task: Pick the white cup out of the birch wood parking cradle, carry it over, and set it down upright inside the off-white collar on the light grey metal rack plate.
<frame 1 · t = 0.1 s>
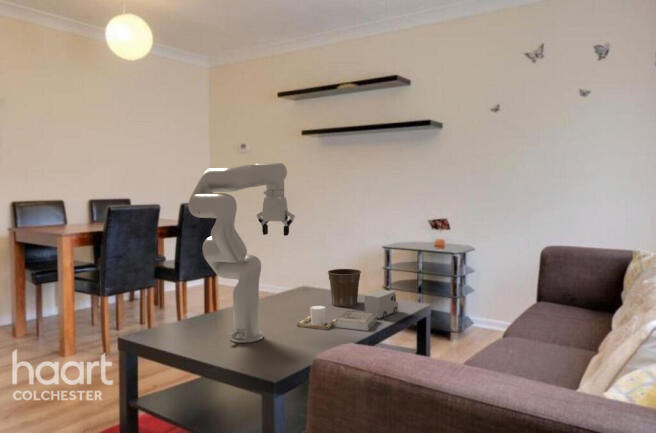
hand: (275, 234, 202), 37 cm above the table, tool pointing down, fingers open, 9 cm apart
parking cradle: (318, 323, 201), on the table
toy vehicle: (381, 315, 215), on the table
rack plate: (356, 324, 200), on the table
white cup: (318, 324, 201), on the table
plant pot: (344, 304, 233), on the table
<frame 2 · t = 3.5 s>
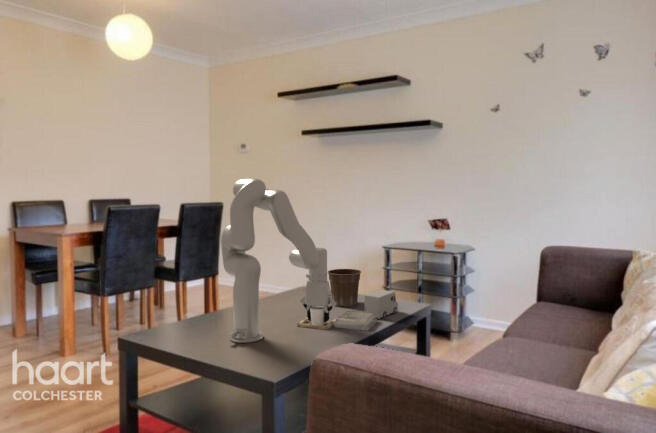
hand: (318, 320, 200), 2 cm above the table, tool pointing down, fingers closed on white cup, 6 cm apart
white cup: (318, 324, 201), on the table, touching gripper
everything else where it was.
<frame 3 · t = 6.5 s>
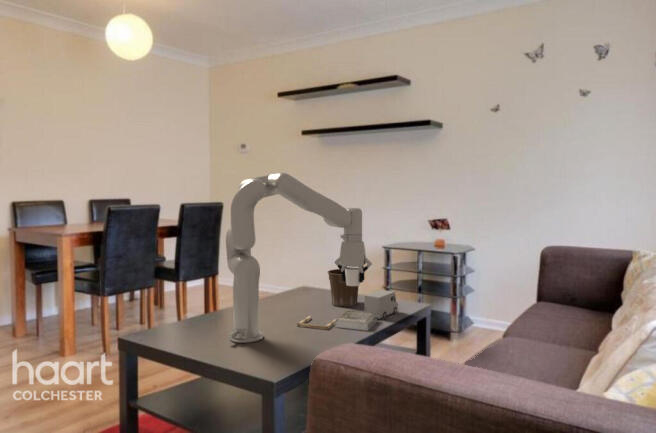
hand: (353, 281, 199), 18 cm above the table, tool pointing down, fingers closed on white cup, 6 cm apart
white cup: (353, 285, 199), point 16 cm above the table, touching gripper
everything else where it was.
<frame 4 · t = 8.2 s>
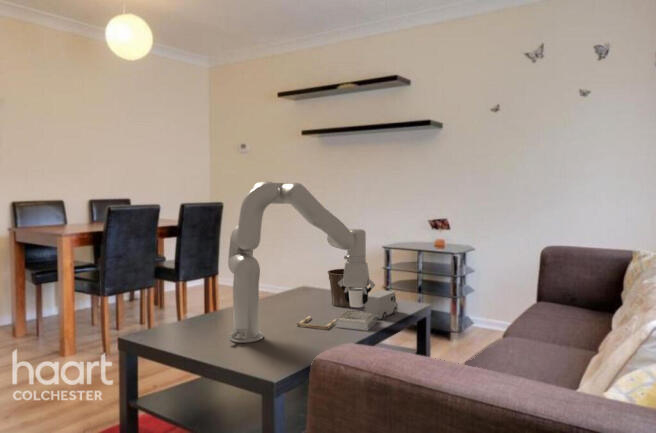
hand: (356, 302, 199), 9 cm above the table, tool pointing down, fingers closed on white cup, 6 cm apart
white cup: (356, 306, 199), point 8 cm above the table, touching gripper
everything else where it was.
when the fingers open (5 cm above the table, at t = 9.5 s): white cup drops 1 cm, resting on rack plate.
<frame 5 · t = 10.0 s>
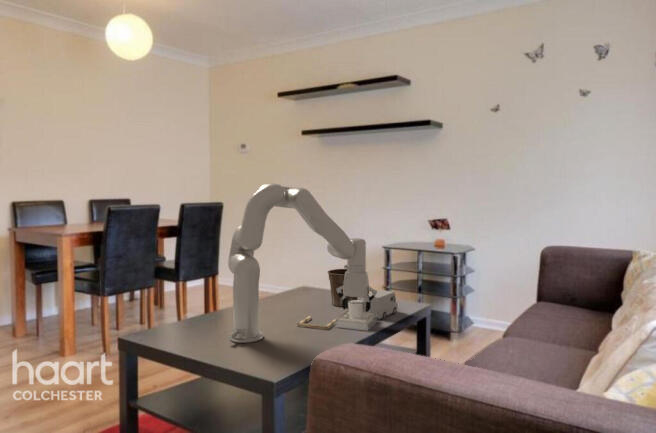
hand: (356, 309, 199), 6 cm above the table, tool pointing down, fingers open, 9 cm apart
white cup: (356, 318, 199), point 2 cm above the table, touching rack plate
everything else where it was.
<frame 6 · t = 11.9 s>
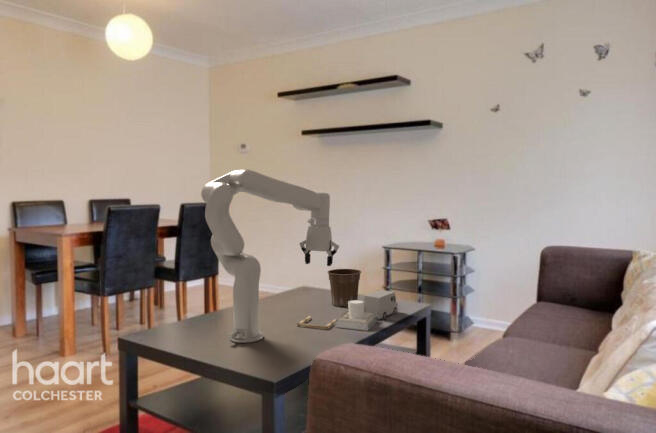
hand: (318, 264, 198), 25 cm above the table, tool pointing down, fingers open, 9 cm apart
nothing on the table moved.
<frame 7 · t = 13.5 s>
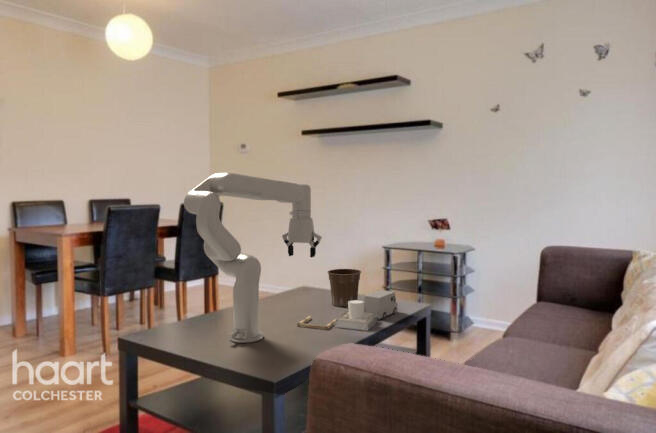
hand: (301, 256, 198), 28 cm above the table, tool pointing down, fingers open, 9 cm apart
at the end: white cup 0.1 cm off-centre on the rack plate, point 2.3 cm above the rack plate's base; white cup tilted 0°; the gripper is holding nothing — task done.
